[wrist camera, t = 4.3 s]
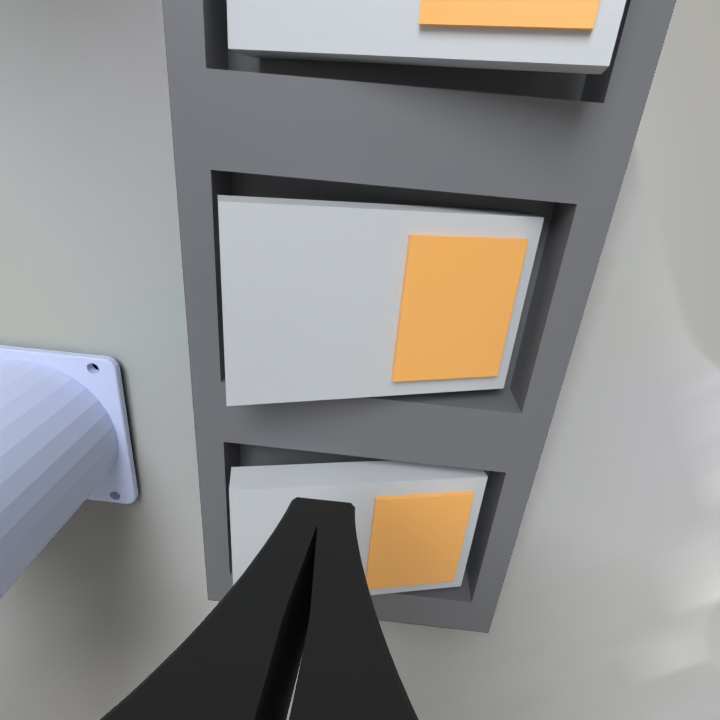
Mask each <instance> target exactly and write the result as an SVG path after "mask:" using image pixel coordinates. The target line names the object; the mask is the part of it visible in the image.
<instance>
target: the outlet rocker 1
mask: <svg viewBox="0 0 720 720" xmlns="http://www.w3.org/2000/svg"><path fill="white" fill-rule="evenodd" d="M218 216H219V240H220V263H221V287H222V311H223V334H224V358H225V382H226V406H237V405H253V404H269V403H284V402H300V401H315V400H331V399H346V398H362V397H378V396H393V395H409V394H424V393H440V392H456V391H471V390H487V389H502V388H504V384H505V380H506V376H507V372H508V367H509V363H510V359H511V355H512V351H513V347H514V342H515V338H516V334H517V330H518V326H519V321H520V317H521V313H522V309H523V305H524V301H525V296H526V292H527V288H528V284H529V280H530V275H531V271H532V267H533V263H534V259H535V255H536V250H537V246H538V242H539V238H540V234H541V229H542V225H543V221H544V217H541V216H537V215H534V214H530V213H527V212H523V211H512V210H494V209H475V208H456V207H437V206H418V205H399V204H380V203H361V202H342V201H324V200H305V199H286V198H267V197H248V196H229V195H218Z"/></svg>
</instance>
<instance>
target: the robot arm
mask: <svg viewBox="0 0 720 720" xmlns="http://www.w3.org/2000/svg"><path fill="white" fill-rule="evenodd" d="M92 363H93V364H96V365H97V366H98V368H99V370H97V369H95V368H94V367H93V365H92ZM116 492H117V493H118V494H117V493H116ZM137 497H138V488H137V481H136V474H135V467H134V460H133V454H132V447H131V440H130V433H129V426H128V419H127V413H126V406H125V399H124V392H123V385H122V378H121V372H120V366H119V364H118V362H117V361H116V360H115V359H113V358H112V357H109V356H101V355H92V354H82V353H73V352H63V351H54V350H44V349H35V348H25V347H15V346H6V345H0V598H1V597H2V596H3V595H4V594H5V593H6V592H7V590H8V589H9V588H10V587H11V586H12V585H13V583H14V582H15V581H16V580H17V579H18V578H19V576H20V575H21V574H22V573H23V572H24V571H25V570H26V568H27V567H28V566H29V565H30V564H31V563H32V561H33V560H34V559H35V558H36V557H37V556H38V555H39V553H40V552H41V551H42V550H43V549H44V548H45V546H46V545H47V544H48V543H49V542H50V541H51V539H52V538H53V537H54V536H55V535H56V534H57V533H58V531H59V530H60V529H61V528H62V527H63V526H64V524H65V523H66V522H67V521H68V520H69V519H70V517H71V516H72V515H73V514H74V513H75V512H76V511H77V509H78V508H79V507H80V506H81V505H82V504H83V502H84V501H85V500H86V499H87V500H96V501H105V502H114V503H122V504H131V503H133V502H134V501H135V500H136V498H137ZM302 654H303V655H302ZM301 658H302V660H301ZM300 662H301V665H300ZM299 666H300V670H299ZM298 670H299V675H298V680H297V684H296V689H295V694H294V699H293V704H292V708H291V713H290V718H289V720H418V718H417V716H416V714H415V711H414V709H413V707H412V705H411V703H410V700H409V698H408V696H407V693H406V691H405V689H404V686H403V684H402V682H401V679H400V677H399V675H398V672H397V670H396V667H395V665H394V662H393V660H392V657H391V655H390V652H389V649H388V647H387V644H386V641H385V638H384V636H383V633H382V630H381V627H380V624H379V621H378V618H377V615H376V612H375V609H374V606H373V602H372V599H371V595H370V592H369V588H368V585H367V581H366V577H365V573H364V569H363V565H362V561H361V556H360V551H359V546H358V540H357V533H356V525H355V507H354V506H353V505H352V503H348V502H339V501H330V500H320V499H311V498H301V497H296V498H295V499H293V500H292V501H291V503H290V505H289V507H288V508H287V510H286V512H285V514H284V515H283V517H282V519H281V520H280V522H279V524H278V525H277V527H276V528H275V530H274V531H273V533H272V534H271V536H270V537H269V539H268V540H267V542H266V543H265V545H264V546H263V547H262V549H261V550H260V551H259V553H258V554H257V555H256V557H255V558H254V560H253V561H252V562H251V564H250V565H249V566H248V568H247V569H246V570H245V572H244V573H243V574H242V576H241V577H240V578H239V579H238V580H237V582H236V583H235V584H234V585H233V586H232V588H231V589H230V590H229V591H228V593H227V594H226V595H225V596H224V597H223V599H222V600H221V601H220V602H219V603H218V605H217V606H216V607H215V608H214V609H213V610H212V612H211V613H210V614H209V615H208V616H207V617H206V618H205V619H204V621H203V622H202V623H201V624H200V625H199V626H198V627H197V628H196V629H195V630H194V631H193V632H192V633H191V635H190V636H189V637H188V638H187V639H186V640H185V641H184V642H183V643H182V644H181V645H180V646H179V647H178V648H177V649H176V650H175V651H174V652H173V653H172V654H171V655H170V656H169V657H168V658H167V659H166V660H165V661H164V662H163V663H162V664H161V665H160V666H159V667H158V668H157V669H156V670H155V671H154V672H153V673H152V674H150V675H149V676H148V677H147V678H146V679H145V680H144V681H143V682H142V683H141V684H140V685H139V686H138V687H137V688H136V689H135V690H133V691H132V692H131V693H130V694H129V695H128V696H127V697H126V698H125V699H124V700H122V701H121V702H120V703H119V704H118V705H117V706H115V707H114V708H113V709H112V710H111V711H110V712H108V713H107V714H106V715H105V716H104V717H103V718H101V719H100V720H286V718H287V714H288V710H289V706H290V702H291V698H292V694H293V690H294V686H295V682H296V678H297V674H298Z"/></svg>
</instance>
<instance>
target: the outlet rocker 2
mask: <svg viewBox="0 0 720 720" xmlns="http://www.w3.org/2000/svg"><path fill="white" fill-rule="evenodd" d="M487 478H488V476H487V475H486V473H485V472H484V470H477V469H468V468H459V467H450V466H441V465H432V464H422V463H413V462H404V461H395V460H384V461H361V462H338V463H315V464H292V465H269V466H246V467H231V476H230V485H229V503H230V526H231V549H232V572H233V585H234V584H235V583H236V582H237V580H238V579H239V578H240V577H241V576H242V574H243V573H244V572H245V570H246V569H247V568H248V566H249V565H250V564H251V562H252V561H253V560H254V558H255V557H256V555H257V554H258V553H259V551H260V550H261V549H262V547H263V546H264V545H265V543H266V542H267V540H268V539H269V537H270V536H271V534H272V533H273V531H274V530H275V528H276V527H277V525H278V524H279V522H280V520H281V519H282V517H283V515H284V514H285V512H286V510H287V508H288V507H289V505H290V503H291V501H292V500H293V499H295V498H296V497H301V498H311V499H320V500H330V501H339V502H348V503H352V505H353V506H354V507H355V525H356V533H357V540H358V546H359V551H360V556H361V561H362V565H363V569H364V573H365V577H366V581H367V585H368V588H369V592H370V595H378V594H388V593H398V592H408V591H418V590H428V589H438V588H448V587H458V586H461V584H462V580H463V576H464V572H465V568H466V564H467V560H468V556H469V552H470V548H471V543H472V539H473V535H474V531H475V527H476V523H477V519H478V515H479V511H480V507H481V503H482V499H483V494H484V490H485V486H486V482H487Z"/></svg>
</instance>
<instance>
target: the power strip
mask: <svg viewBox="0 0 720 720" xmlns="http://www.w3.org/2000/svg"><path fill="white" fill-rule="evenodd" d="M675 3H676V0H626V3H625V7H624V11H623V15H622V19H621V23H620V26H619V30H618V34H617V38H616V42H615V46H614V49H613V53H612V57H611V61H610V65H609V67H608V68H607V69H606V70H605V71H604V72H603V73H602V74H582V73H562V72H541V71H521V70H501V69H481V68H461V67H441V66H420V65H400V64H380V63H360V62H340V61H319V60H299V59H279V58H259V57H250V56H247V55H244V54H242V53H239V52H236V51H233V50H230V49H228V25H227V0H162V4H163V17H164V30H165V43H166V56H167V69H168V82H169V95H170V108H171V121H172V135H173V148H174V161H175V174H176V187H177V200H178V213H179V226H180V239H181V252H182V265H183V278H184V291H185V304H186V318H187V331H188V344H189V357H190V370H191V383H192V396H193V409H194V422H195V435H196V448H197V461H198V474H199V488H200V501H201V514H202V527H203V540H204V553H205V566H206V579H207V592H208V600H212V601H221V600H222V599H223V597H224V596H225V595H226V594H227V593H228V591H229V590H230V589H231V588H232V586H233V572H232V549H231V526H230V503H229V485H230V476H231V467H246V466H269V465H292V464H315V463H338V462H361V461H384V460H395V461H404V462H413V463H422V464H432V465H441V466H450V467H459V468H468V469H477V470H484V472H485V473H486V475H487V476H488V478H487V482H486V486H485V490H484V494H483V499H482V503H481V507H480V511H479V515H478V519H477V523H476V527H475V531H474V535H473V539H472V543H471V548H470V552H469V556H468V560H467V564H466V568H465V572H464V576H463V580H462V584H461V586H458V587H448V588H438V589H428V590H418V591H408V592H398V593H388V594H378V595H371V599H372V602H373V606H374V609H375V612H376V615H377V618H378V620H382V621H391V622H399V623H408V624H416V625H425V626H433V627H442V628H450V629H458V630H467V631H475V632H484V633H488V632H489V629H490V625H491V622H492V619H493V615H494V612H495V608H496V605H497V602H498V598H499V595H500V592H501V588H502V585H503V582H504V578H505V575H506V571H507V568H508V565H509V561H510V558H511V555H512V551H513V548H514V545H515V541H516V538H517V534H518V531H519V528H520V524H521V521H522V518H523V514H524V511H525V508H526V504H527V501H528V497H529V494H530V491H531V487H532V484H533V481H534V477H535V474H536V470H537V467H538V464H539V460H540V457H541V454H542V450H543V447H544V444H545V440H546V437H547V433H548V430H549V427H550V423H551V420H552V417H553V413H554V410H555V407H556V403H557V400H558V396H559V393H560V390H561V386H562V383H563V380H564V376H565V373H566V370H567V366H568V363H569V359H570V356H571V353H572V349H573V346H574V343H575V339H576V336H577V333H578V329H579V326H580V322H581V319H582V316H583V312H584V309H585V306H586V302H587V299H588V296H589V292H590V289H591V285H592V282H593V279H594V275H595V272H596V269H597V265H598V262H599V258H600V255H601V252H602V248H603V245H604V242H605V238H606V235H607V232H608V228H609V225H610V221H611V218H612V215H613V211H614V208H615V205H616V201H617V198H618V195H619V191H620V188H621V184H622V181H623V178H624V174H625V171H626V168H627V164H628V161H629V158H630V154H631V151H632V147H633V144H634V141H635V137H636V134H637V131H638V127H639V124H640V120H641V117H642V114H643V110H644V107H645V103H646V100H647V97H648V94H649V90H650V87H651V83H652V80H653V77H654V73H655V70H656V67H657V63H658V60H659V56H660V53H661V50H662V46H663V43H664V39H665V36H666V33H667V29H668V26H669V23H670V19H671V16H672V13H673V9H674V6H675ZM218 195H229V196H248V197H267V198H286V199H305V200H324V201H342V202H361V203H380V204H399V205H418V206H437V207H456V208H475V209H494V210H512V211H523V212H527V213H530V214H534V215H537V216H541V217H544V221H543V225H542V229H541V234H540V238H539V242H538V246H537V250H536V255H535V259H534V263H533V267H532V271H531V275H530V280H529V284H528V288H527V292H526V296H525V301H524V305H523V309H522V313H521V317H520V321H519V326H518V330H517V334H516V338H515V342H514V347H513V351H512V355H511V359H510V363H509V367H508V372H507V376H506V380H505V384H504V388H502V389H487V390H471V391H456V392H440V393H424V394H409V395H393V396H378V397H362V398H346V399H331V400H315V401H300V402H284V403H269V404H253V405H237V406H226V382H225V358H224V334H223V311H222V287H221V263H220V240H219V216H218Z"/></svg>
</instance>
